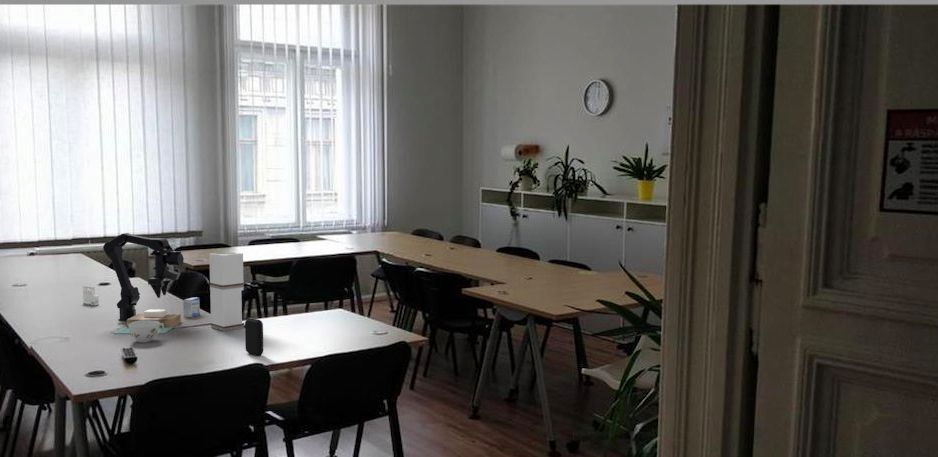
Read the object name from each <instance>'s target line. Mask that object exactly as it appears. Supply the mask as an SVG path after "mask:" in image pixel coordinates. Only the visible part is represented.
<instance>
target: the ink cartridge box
mask: <svg viewBox="0 0 938 457" xmlns="http://www.w3.org/2000/svg"><path fill="white" fill-rule="evenodd" d="M95 292H96V291H95V287H92V286H86V285H82V304H83V303H86V304H85V305H89V304H91V305H90V306H99V305H100V304H99V302H100V299H99V295H98V294H97V295H96V294H95Z"/></svg>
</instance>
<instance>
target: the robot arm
mask: <svg viewBox="0 0 938 457" xmlns="http://www.w3.org/2000/svg"><path fill="white" fill-rule="evenodd" d="M127 244H133V245H134V244H135V245H139V246H144V247H147V248H148V249H149V250H150V249H151V250H153V251H152V252H150V253H149V255H150V256H154V266H152V267H153V270H154V275H153V277H150V278H148V280H147V285H150V287H151V288H152V290H153V292H154V293H155V296H156V298H158V299H160V298H161V294H162V295H163V296H166V295H167V292H168V291H167V290H168V287H169V285H170V284H171V283H172V282H173V281H177V280H179V277H180V276H181V272H180V269H179V268H175V269H170V266H183V264H184V256H183V254H182V251H181V250H178V251H175V250H174V249H173V248H172V246H171V245H170V243H169V241H168V239H167V238H164V237H162V238H161V237H158V238H157V237H156V238H153V237H151V238H150V237H147V236H141V235H136V234H131V233H129V232H125V233H121V234H120V235H119V236H117V237H116V238H113V239H112V240H110V241H107V242H105V243H104V245H103V247H102V249H103V251H104V253H105V255H106V257H107V258H109V260H111V263H112V265H113V269H114V271H115V274H116V277H117V279H118V283H119V286H120V300H119V301H117V303H116V306H117V309H119V318H118V321H127V319H129V318H131V317H133V316H135V315H137V309H135V308H136V306H137V304H138V302H139V301H140V298H141V297H140V295H141V293H140V291H139V288H138V287H137V286H135V287H134V286H133V284H132V282H131V279H130V276H129V273H128V271H127V268H126V265H125V262H124V259H123V254H124V253H123V247H124V246H126V245H127Z"/></svg>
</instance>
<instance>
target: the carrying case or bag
mask: <svg viewBox="0 0 938 457" xmlns="http://www.w3.org/2000/svg"><path fill="white" fill-rule="evenodd" d="M243 329H244V331H245V332H244V336H245V338H244V339H245V343H244V344H245V352H247V354H250V355H254V356H257V357H261V356H262V355H263V354H264V323H263V321H262V320H260V319H257V318H251V317H248V318H246V320H245V322H244V328H243Z"/></svg>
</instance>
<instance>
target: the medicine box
mask: <svg viewBox="0 0 938 457" xmlns="http://www.w3.org/2000/svg"><path fill="white" fill-rule="evenodd" d="M182 303H183V304H182V305H183V307H182V309H183V317H184V318H194V317H196V316H198V315H200V312H201V311H200V310H201V308H200V307H201V306H200V297H197V296H196V297H190V298H185V299H183V301H182Z"/></svg>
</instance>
